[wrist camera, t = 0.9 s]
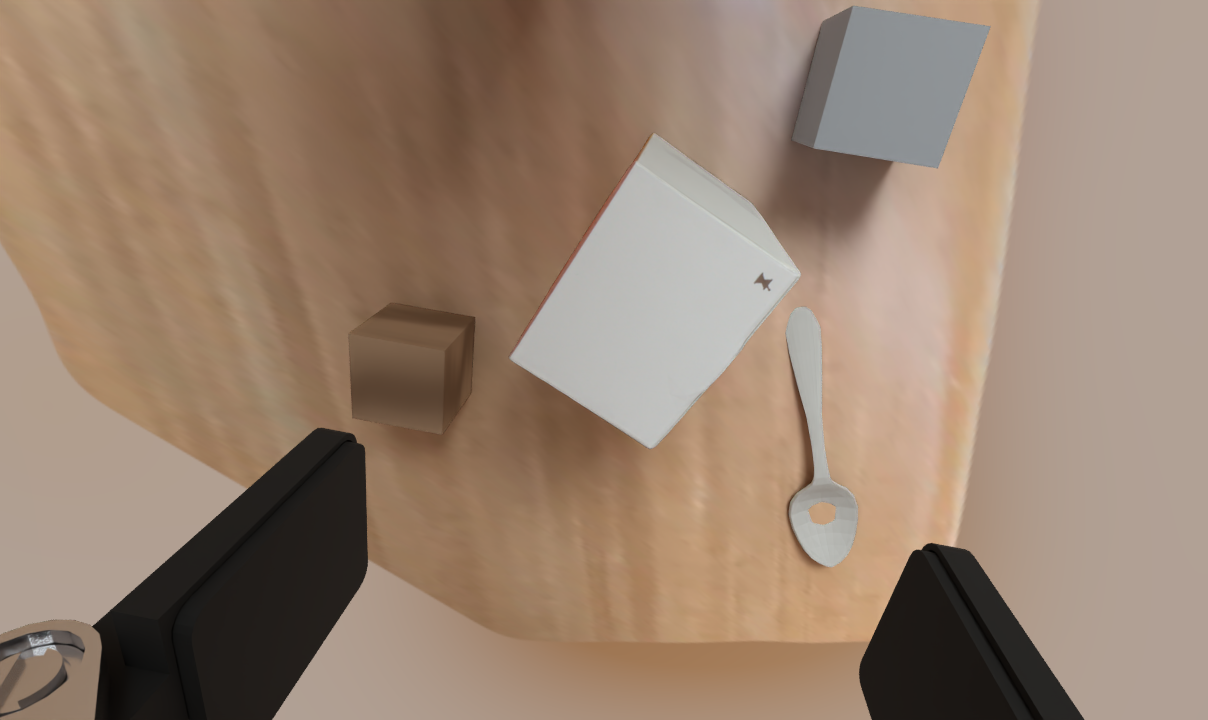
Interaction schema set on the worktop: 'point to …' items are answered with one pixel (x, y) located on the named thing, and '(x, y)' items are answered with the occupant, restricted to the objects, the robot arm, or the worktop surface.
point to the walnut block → (411, 367)
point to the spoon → (817, 452)
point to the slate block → (887, 84)
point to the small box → (656, 296)
